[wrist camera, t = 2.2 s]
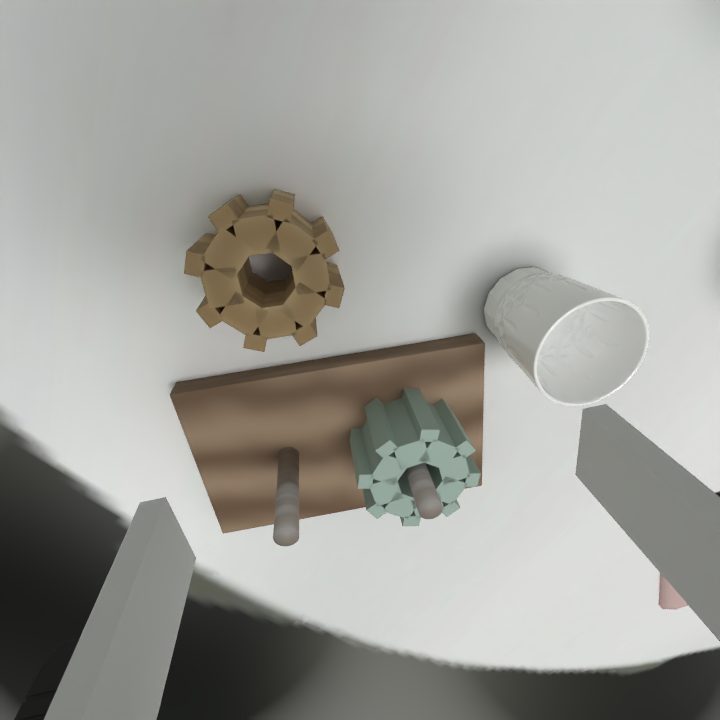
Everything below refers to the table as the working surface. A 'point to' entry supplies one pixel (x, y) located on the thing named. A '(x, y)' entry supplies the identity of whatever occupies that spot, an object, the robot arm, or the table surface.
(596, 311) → the white cup
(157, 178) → the table surface
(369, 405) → the pale green gear
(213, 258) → the oak gear
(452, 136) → the table surface
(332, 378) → the walnut gear board
